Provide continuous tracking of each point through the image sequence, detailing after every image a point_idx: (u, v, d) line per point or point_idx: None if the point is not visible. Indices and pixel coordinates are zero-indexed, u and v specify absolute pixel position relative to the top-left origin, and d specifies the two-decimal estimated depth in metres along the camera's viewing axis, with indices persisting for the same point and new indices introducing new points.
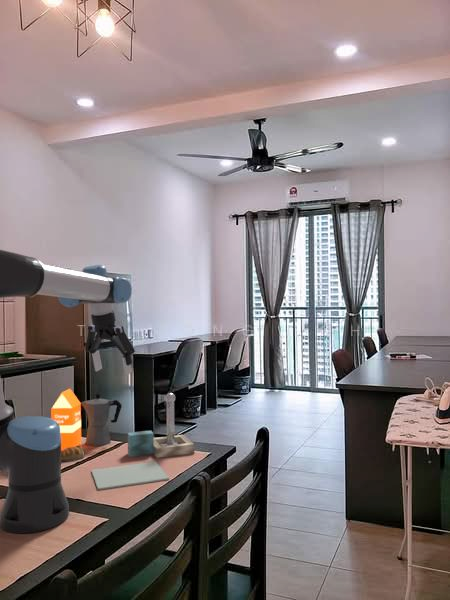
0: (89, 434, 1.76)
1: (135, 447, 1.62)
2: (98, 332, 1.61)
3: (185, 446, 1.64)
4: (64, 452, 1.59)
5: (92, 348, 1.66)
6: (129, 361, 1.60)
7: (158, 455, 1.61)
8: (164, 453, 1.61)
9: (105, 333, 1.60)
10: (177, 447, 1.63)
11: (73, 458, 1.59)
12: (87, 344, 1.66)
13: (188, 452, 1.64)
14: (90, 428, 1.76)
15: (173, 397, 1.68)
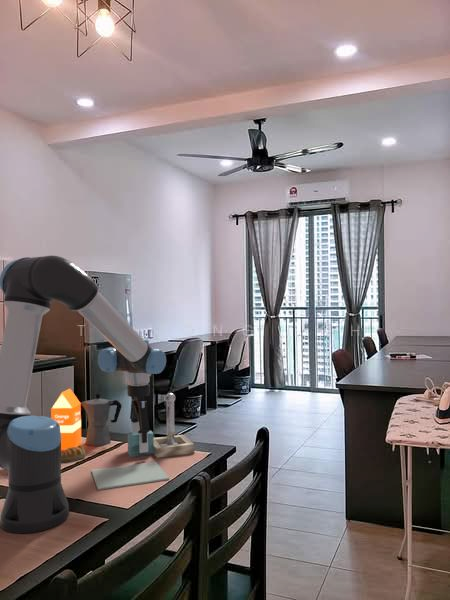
0: (89, 434, 1.76)
1: (135, 447, 1.62)
2: (132, 402, 1.66)
3: (185, 446, 1.64)
4: (66, 452, 1.58)
5: (132, 417, 1.71)
6: (143, 439, 1.57)
7: (158, 455, 1.61)
8: (164, 453, 1.61)
9: (134, 405, 1.63)
10: (177, 447, 1.63)
11: (75, 459, 1.59)
12: None
13: (188, 452, 1.64)
14: (90, 428, 1.76)
15: (173, 397, 1.68)
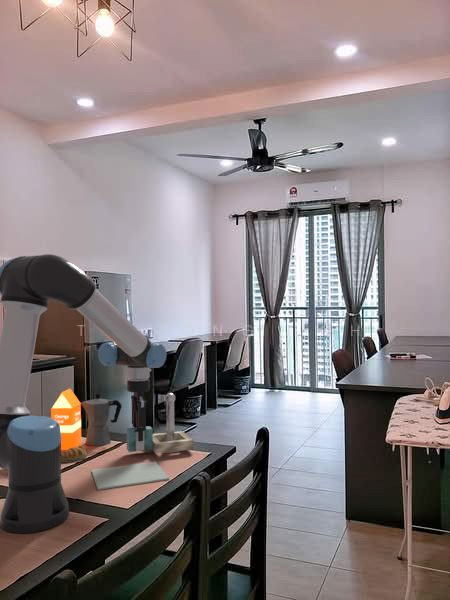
0: (89, 434, 1.76)
1: (134, 442, 1.62)
2: (132, 398, 1.65)
3: (184, 442, 1.64)
4: (67, 453, 1.58)
5: (133, 420, 1.67)
6: (140, 437, 1.61)
7: (157, 450, 1.60)
8: (163, 449, 1.61)
9: (133, 400, 1.63)
10: (176, 443, 1.63)
11: (76, 459, 1.58)
12: (132, 416, 1.69)
13: (187, 448, 1.64)
14: (90, 428, 1.76)
15: (173, 397, 1.68)
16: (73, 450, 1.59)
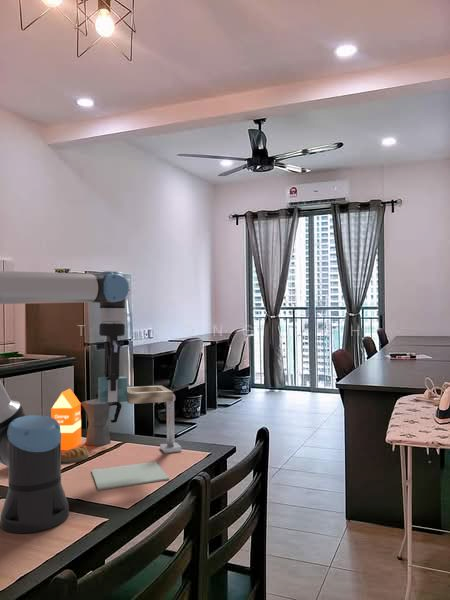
0: (89, 434, 1.76)
1: (106, 392, 1.44)
2: (104, 344, 1.48)
3: (162, 393, 1.46)
4: (69, 453, 1.58)
5: (105, 370, 1.49)
6: (112, 386, 1.43)
7: (131, 401, 1.42)
8: (138, 399, 1.43)
9: (106, 345, 1.45)
10: (153, 393, 1.45)
11: (78, 459, 1.58)
12: (104, 365, 1.51)
13: (166, 400, 1.46)
14: (90, 428, 1.76)
15: (173, 397, 1.68)
16: (75, 450, 1.59)
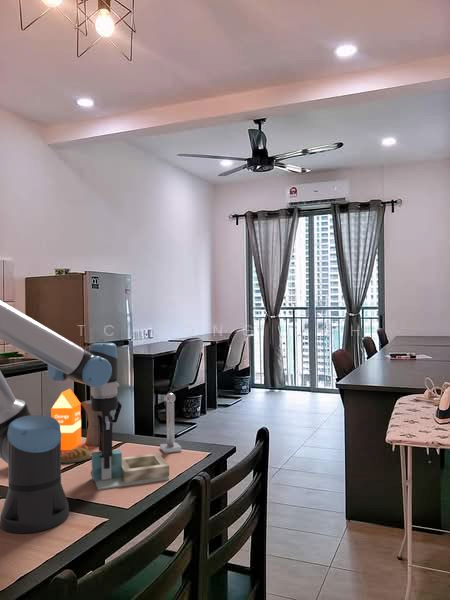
0: (89, 434, 1.76)
1: (99, 469, 1.39)
2: (97, 418, 1.42)
3: (158, 468, 1.41)
4: (71, 454, 1.57)
5: (99, 443, 1.44)
6: (106, 464, 1.38)
7: (126, 479, 1.37)
8: (133, 477, 1.38)
9: (98, 421, 1.40)
10: (149, 469, 1.40)
11: (80, 459, 1.58)
12: (98, 438, 1.46)
13: (162, 475, 1.41)
14: (90, 428, 1.76)
15: (173, 397, 1.68)
16: (77, 451, 1.58)
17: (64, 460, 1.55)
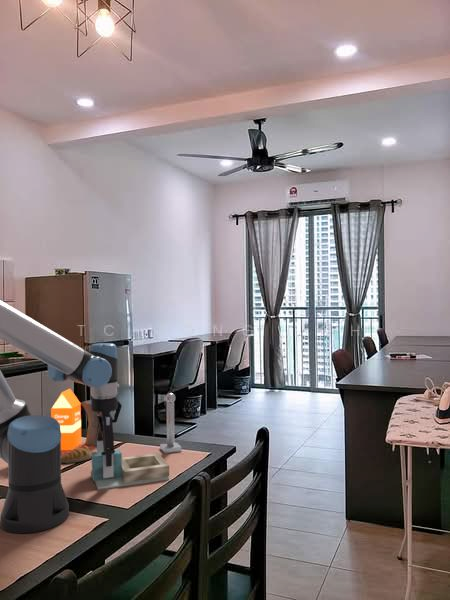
0: (89, 434, 1.76)
1: (99, 469, 1.39)
2: (97, 418, 1.42)
3: (158, 468, 1.41)
4: (72, 454, 1.57)
5: (97, 435, 1.47)
6: (108, 462, 1.34)
7: (126, 479, 1.37)
8: (133, 477, 1.38)
9: (98, 421, 1.39)
10: (149, 469, 1.40)
11: (81, 460, 1.58)
12: None
13: (162, 475, 1.41)
14: (90, 428, 1.76)
15: (173, 397, 1.68)
16: (78, 451, 1.58)
17: (65, 460, 1.55)
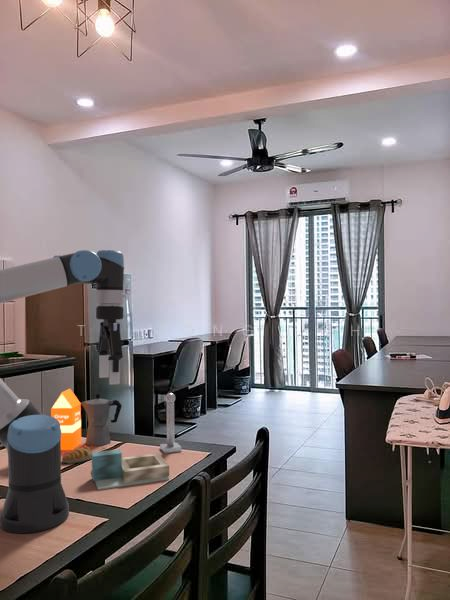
0: (89, 434, 1.76)
1: (99, 469, 1.39)
2: (101, 328, 1.38)
3: (158, 468, 1.41)
4: (73, 454, 1.57)
5: (100, 349, 1.43)
6: (115, 367, 1.30)
7: (126, 479, 1.37)
8: (133, 477, 1.38)
9: (103, 329, 1.35)
10: (149, 469, 1.40)
11: (82, 460, 1.57)
12: (99, 344, 1.45)
13: (162, 475, 1.41)
14: (90, 428, 1.76)
15: (173, 397, 1.68)
16: (79, 451, 1.58)
17: (66, 460, 1.55)
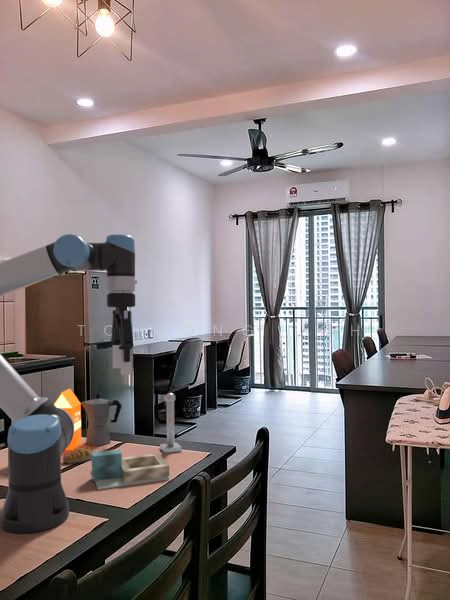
0: (89, 434, 1.76)
1: (99, 469, 1.39)
2: (113, 316, 1.32)
3: (158, 468, 1.41)
4: (74, 454, 1.57)
5: (113, 338, 1.37)
6: (126, 357, 1.23)
7: (126, 479, 1.37)
8: (133, 477, 1.38)
9: (115, 317, 1.29)
10: (149, 469, 1.40)
11: (83, 460, 1.57)
12: (112, 333, 1.39)
13: (162, 475, 1.41)
14: (90, 428, 1.76)
15: (173, 397, 1.68)
16: (80, 451, 1.58)
17: (67, 460, 1.55)
